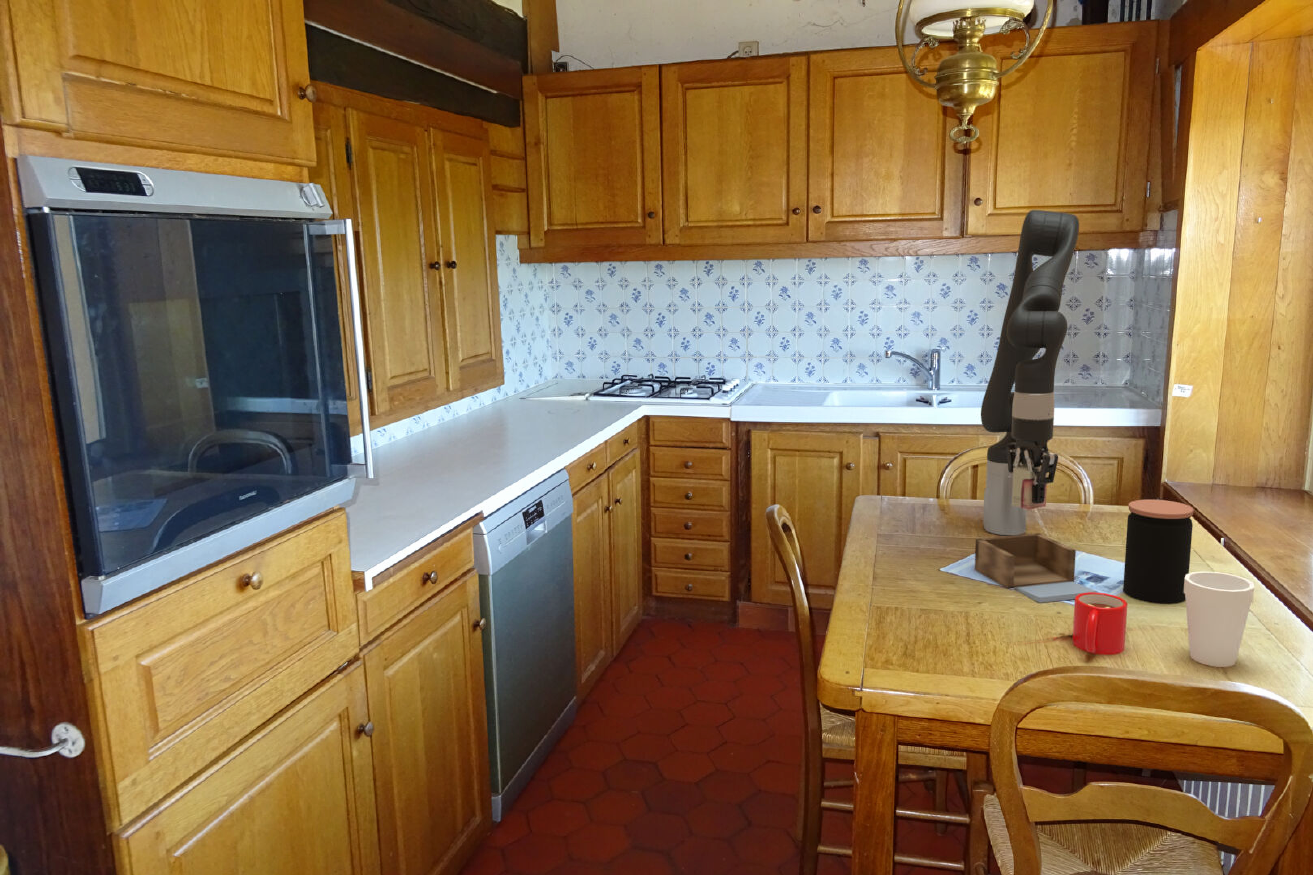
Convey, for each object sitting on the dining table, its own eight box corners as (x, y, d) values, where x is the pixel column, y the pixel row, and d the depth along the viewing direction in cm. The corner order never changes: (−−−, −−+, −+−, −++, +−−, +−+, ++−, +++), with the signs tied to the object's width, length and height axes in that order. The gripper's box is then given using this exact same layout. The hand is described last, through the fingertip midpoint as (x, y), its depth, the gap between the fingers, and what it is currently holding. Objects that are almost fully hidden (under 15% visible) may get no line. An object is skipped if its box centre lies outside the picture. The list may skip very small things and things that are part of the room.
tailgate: (1013, 586, 177) (1038, 597, 169) (1070, 580, 179) (1098, 590, 171) (1013, 591, 177) (1038, 602, 169) (1070, 585, 179) (1098, 596, 171)
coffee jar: (1180, 591, 175) (1187, 500, 172) (1192, 611, 165) (1200, 515, 162) (1118, 587, 179) (1124, 497, 176) (1126, 606, 169) (1133, 512, 166)
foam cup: (1183, 666, 144) (1189, 588, 141) (1174, 643, 152) (1179, 569, 150) (1254, 674, 140) (1261, 593, 138) (1240, 650, 149) (1247, 574, 146)
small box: (1028, 510, 178) (1030, 471, 176) (1011, 505, 181) (1012, 467, 180) (1046, 506, 180) (1048, 467, 178) (1029, 502, 184) (1030, 463, 182)
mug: (1063, 657, 148) (1066, 611, 147) (1076, 632, 158) (1079, 589, 157) (1117, 668, 144) (1120, 620, 143) (1127, 641, 154) (1130, 596, 152)
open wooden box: (974, 573, 189) (975, 539, 187) (1037, 567, 192) (1038, 533, 190) (1007, 593, 177) (1009, 556, 176) (1073, 586, 180) (1075, 549, 179)
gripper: (1073, 419, 171) (1069, 507, 174) (1028, 408, 185) (1024, 489, 188) (1037, 421, 170) (1033, 510, 173) (994, 410, 183) (991, 492, 187)
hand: (1029, 499), depth 180 cm, fingers closed on small box, 5 cm apart
